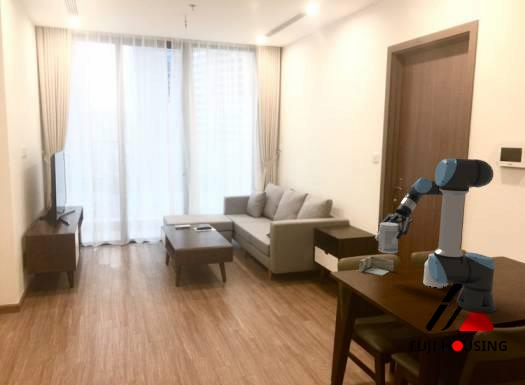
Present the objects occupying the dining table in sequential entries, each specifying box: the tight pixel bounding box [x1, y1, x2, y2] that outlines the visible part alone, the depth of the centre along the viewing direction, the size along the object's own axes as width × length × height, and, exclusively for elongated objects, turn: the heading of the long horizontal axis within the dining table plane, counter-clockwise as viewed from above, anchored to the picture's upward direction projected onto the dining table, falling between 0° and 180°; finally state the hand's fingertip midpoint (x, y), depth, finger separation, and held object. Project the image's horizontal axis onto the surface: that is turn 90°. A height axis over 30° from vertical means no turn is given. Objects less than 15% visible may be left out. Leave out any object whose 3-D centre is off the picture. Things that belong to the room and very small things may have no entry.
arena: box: [358, 255, 395, 273], centre depth 234 cm, size 14×14×6 cm
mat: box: [364, 267, 390, 276], centre depth 233 cm, size 10×10×1 cm
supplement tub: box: [378, 222, 399, 255], centre depth 218 cm, size 10×10×15 cm
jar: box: [422, 253, 449, 289], centre depth 214 cm, size 12×10×15 cm
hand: (384, 241), depth 217 cm, fingers closed on supplement tub, 10 cm apart
